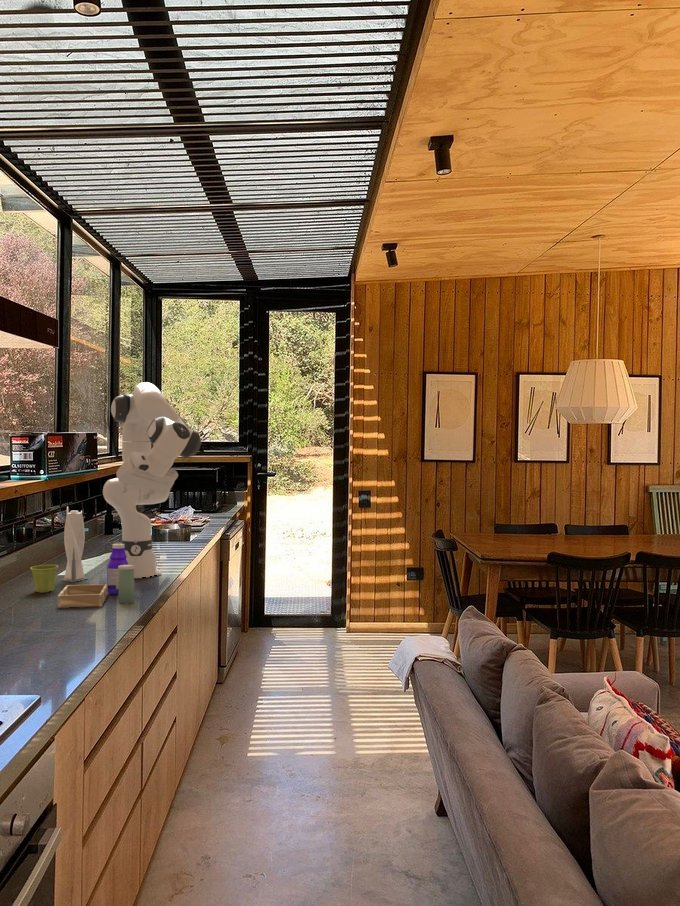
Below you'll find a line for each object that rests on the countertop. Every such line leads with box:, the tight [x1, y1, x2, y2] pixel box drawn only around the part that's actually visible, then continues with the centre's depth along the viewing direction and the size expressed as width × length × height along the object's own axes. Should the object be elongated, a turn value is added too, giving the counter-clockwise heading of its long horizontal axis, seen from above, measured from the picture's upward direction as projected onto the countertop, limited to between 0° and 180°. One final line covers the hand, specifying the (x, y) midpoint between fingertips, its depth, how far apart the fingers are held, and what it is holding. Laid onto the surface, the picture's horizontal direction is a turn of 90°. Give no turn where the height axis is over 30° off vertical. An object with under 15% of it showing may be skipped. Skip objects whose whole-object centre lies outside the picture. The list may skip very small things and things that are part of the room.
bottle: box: [106, 543, 129, 595], centre depth 274 cm, size 7×6×17 cm
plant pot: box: [29, 564, 59, 594], centre depth 278 cm, size 9×9×9 cm
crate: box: [57, 583, 109, 609], centre depth 261 cm, size 18×14×4 cm
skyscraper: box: [60, 506, 89, 583], centre depth 299 cm, size 8×8×28 cm
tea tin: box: [118, 565, 135, 604], centre depth 260 cm, size 5×5×12 cm
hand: (133, 495), depth 266 cm, fingers open, 8 cm apart
